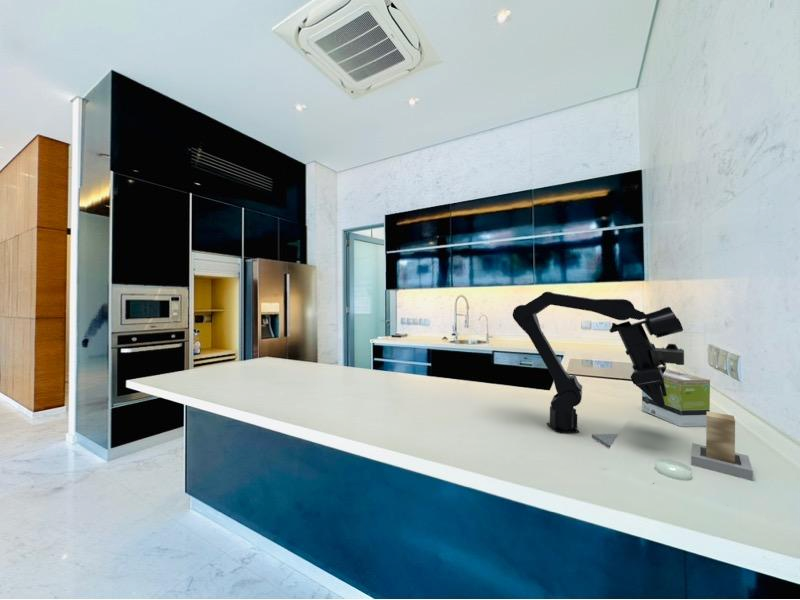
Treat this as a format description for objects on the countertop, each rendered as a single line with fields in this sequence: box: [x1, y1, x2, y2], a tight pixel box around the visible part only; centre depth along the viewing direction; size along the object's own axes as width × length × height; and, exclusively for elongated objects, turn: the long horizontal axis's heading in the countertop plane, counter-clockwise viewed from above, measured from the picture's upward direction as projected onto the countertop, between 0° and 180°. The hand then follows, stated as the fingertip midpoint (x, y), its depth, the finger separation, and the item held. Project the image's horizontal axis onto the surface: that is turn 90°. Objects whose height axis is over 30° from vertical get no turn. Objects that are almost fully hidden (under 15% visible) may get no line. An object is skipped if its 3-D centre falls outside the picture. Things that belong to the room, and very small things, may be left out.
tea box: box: [641, 368, 711, 428], centre depth 108 cm, size 15×10×15 cm, turn 5°
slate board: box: [591, 433, 619, 449], centre depth 85 cm, size 14×14×1 cm
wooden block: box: [705, 411, 736, 464], centre depth 75 cm, size 4×4×11 cm
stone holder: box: [690, 442, 754, 481], centre depth 75 cm, size 10×10×3 cm
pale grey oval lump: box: [654, 458, 693, 481], centre depth 71 cm, size 6×6×2 cm
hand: (663, 401), depth 85 cm, fingers open, 9 cm apart
